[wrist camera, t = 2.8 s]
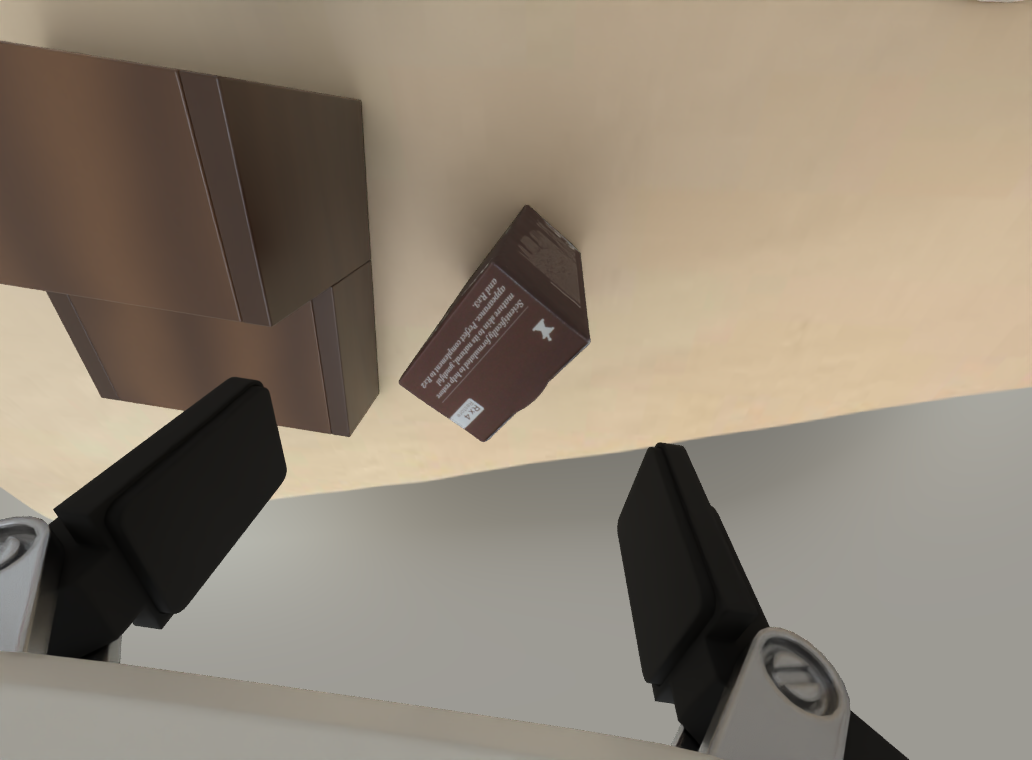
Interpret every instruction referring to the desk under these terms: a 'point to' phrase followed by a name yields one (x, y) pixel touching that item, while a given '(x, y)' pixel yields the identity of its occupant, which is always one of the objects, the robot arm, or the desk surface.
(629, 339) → the desk surface
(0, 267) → the step shelf
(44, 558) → the robot arm
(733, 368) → the desk surface
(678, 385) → the desk surface
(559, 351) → the box
